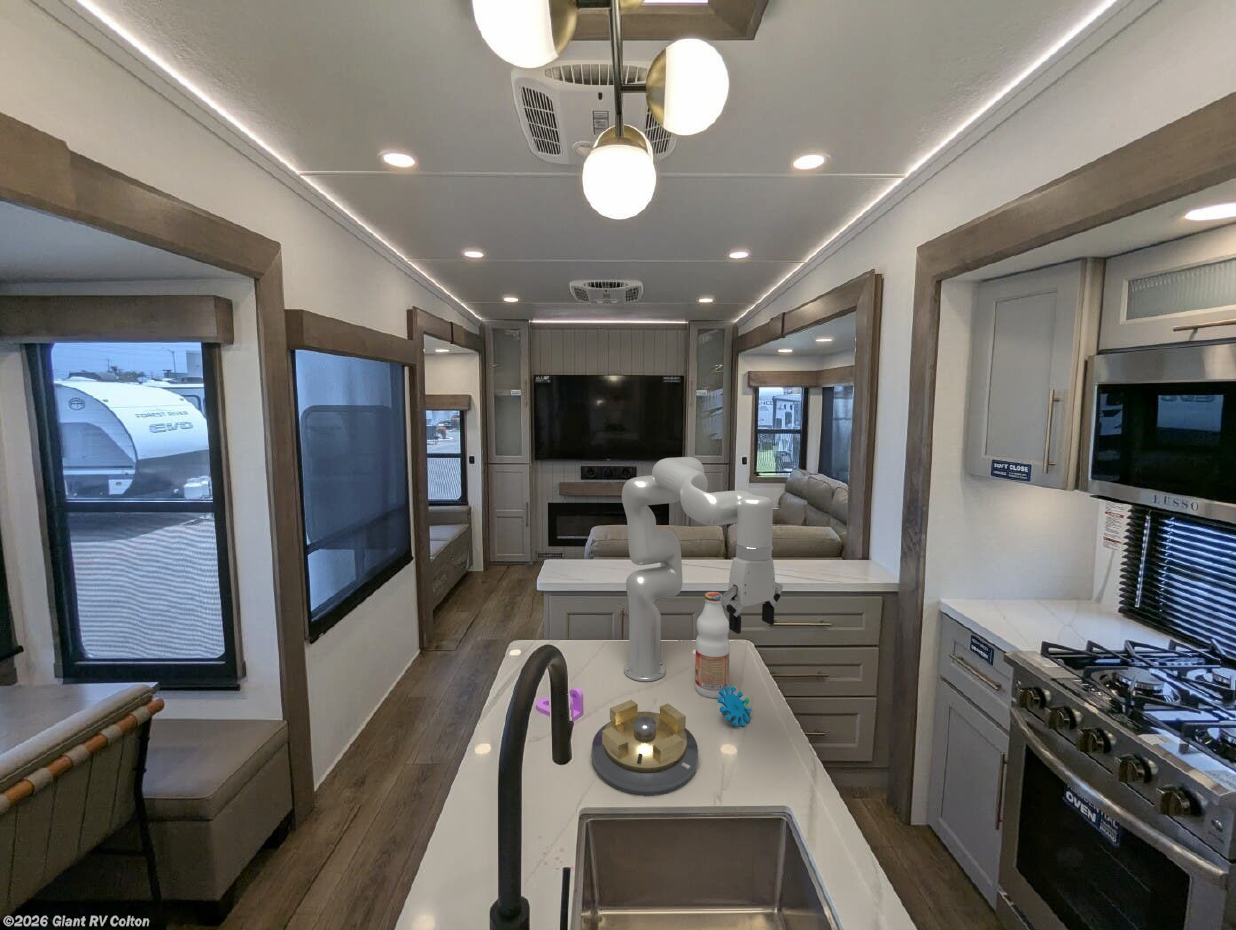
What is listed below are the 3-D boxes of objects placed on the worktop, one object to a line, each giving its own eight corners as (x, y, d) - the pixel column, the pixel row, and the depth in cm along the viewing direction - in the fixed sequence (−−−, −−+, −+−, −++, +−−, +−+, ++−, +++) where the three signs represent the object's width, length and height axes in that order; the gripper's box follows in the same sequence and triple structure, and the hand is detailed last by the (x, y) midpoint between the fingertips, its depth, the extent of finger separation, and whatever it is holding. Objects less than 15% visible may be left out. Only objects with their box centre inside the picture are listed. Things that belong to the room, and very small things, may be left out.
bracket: (583, 714, 136) (583, 689, 136) (570, 725, 132) (570, 699, 131) (545, 699, 143) (545, 675, 143) (531, 709, 139) (531, 684, 138)
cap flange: (604, 720, 133) (604, 709, 133) (699, 731, 129) (699, 719, 129) (580, 787, 110) (580, 773, 109) (696, 802, 105) (696, 788, 105)
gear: (731, 729, 127) (714, 687, 133) (717, 737, 131) (701, 696, 136) (761, 719, 134) (743, 680, 139) (747, 727, 137) (730, 689, 143)
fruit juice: (711, 702, 141) (713, 603, 138) (687, 687, 149) (689, 592, 146) (735, 692, 147) (738, 595, 144) (711, 678, 154) (713, 586, 151)
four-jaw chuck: (611, 715, 130) (611, 696, 129) (688, 723, 127) (688, 704, 126) (594, 767, 111) (594, 745, 111) (684, 778, 108) (684, 755, 107)
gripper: (770, 543, 122) (768, 614, 124) (711, 553, 114) (710, 628, 116) (795, 551, 115) (792, 625, 117) (734, 562, 107) (732, 641, 109)
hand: (751, 626), depth 116 cm, fingers open, 9 cm apart
